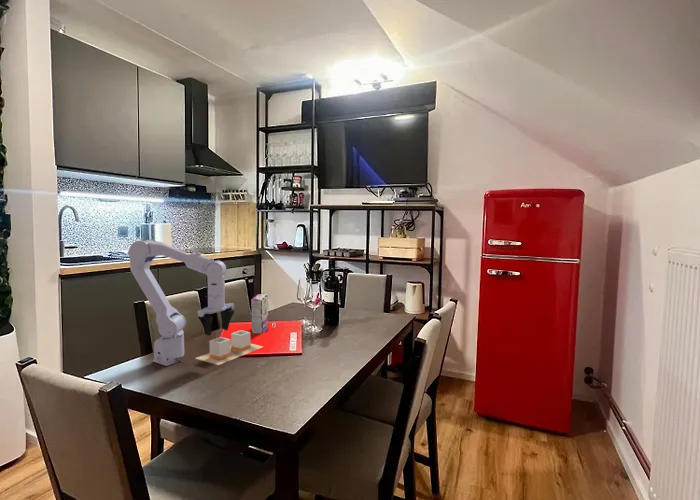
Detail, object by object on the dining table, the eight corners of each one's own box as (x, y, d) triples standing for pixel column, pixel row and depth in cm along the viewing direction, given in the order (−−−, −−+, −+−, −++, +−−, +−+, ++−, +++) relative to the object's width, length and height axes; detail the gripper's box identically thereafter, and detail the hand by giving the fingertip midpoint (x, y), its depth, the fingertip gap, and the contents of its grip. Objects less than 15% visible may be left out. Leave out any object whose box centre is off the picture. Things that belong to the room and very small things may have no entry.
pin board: (218, 369, 129) (218, 355, 129) (194, 362, 135) (194, 348, 135) (263, 350, 148) (263, 337, 148) (241, 344, 154) (241, 332, 154)
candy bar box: (257, 329, 176) (257, 294, 174) (268, 329, 176) (268, 294, 174) (250, 336, 165) (250, 299, 163) (262, 337, 165) (262, 299, 163)
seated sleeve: (240, 351, 142) (240, 335, 142) (231, 349, 145) (231, 333, 144) (250, 347, 147) (250, 332, 146) (241, 345, 149) (240, 330, 149)
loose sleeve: (219, 359, 134) (219, 343, 133) (209, 357, 136) (209, 340, 136) (230, 355, 138) (230, 339, 137) (220, 353, 140) (220, 337, 140)
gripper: (207, 299, 128) (207, 339, 130) (239, 292, 141) (240, 329, 142) (193, 297, 132) (194, 335, 133) (226, 290, 145) (226, 326, 146)
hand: (216, 332), depth 138 cm, fingers open, 7 cm apart
